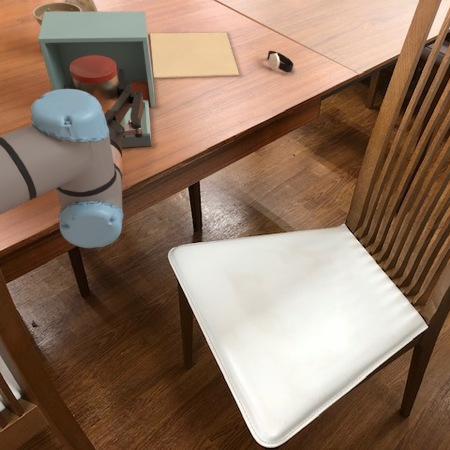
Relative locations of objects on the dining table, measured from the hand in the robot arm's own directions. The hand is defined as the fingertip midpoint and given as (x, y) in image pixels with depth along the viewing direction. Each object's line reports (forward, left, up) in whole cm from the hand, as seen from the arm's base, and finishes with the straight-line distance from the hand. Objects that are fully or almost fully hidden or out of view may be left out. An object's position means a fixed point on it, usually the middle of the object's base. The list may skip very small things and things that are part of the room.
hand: (99, 76), depth 89 cm
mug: (-22, +35, -9) cm, 43 cm away
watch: (+28, +29, -9) cm, 41 cm away
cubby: (-3, +7, -9) cm, 12 cm away
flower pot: (-18, +21, -9) cm, 29 cm away
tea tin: (+2, -5, -7) cm, 9 cm away
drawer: (+1, -3, -9) cm, 9 cm away
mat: (+8, +29, -9) cm, 31 cm away
